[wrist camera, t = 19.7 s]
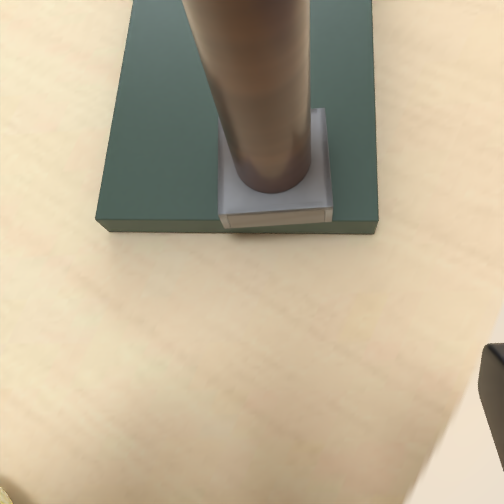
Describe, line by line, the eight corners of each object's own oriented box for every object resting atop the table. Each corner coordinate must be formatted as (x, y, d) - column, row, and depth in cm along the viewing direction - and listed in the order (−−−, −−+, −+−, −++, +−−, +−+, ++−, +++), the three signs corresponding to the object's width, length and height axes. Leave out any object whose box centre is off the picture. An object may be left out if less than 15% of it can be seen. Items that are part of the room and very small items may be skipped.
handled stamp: (331, 222, 19) (371, -170, 6) (224, 228, 19) (53, -121, 7) (324, 128, 20) (343, -348, 8) (224, 136, 21) (84, -297, 8)
